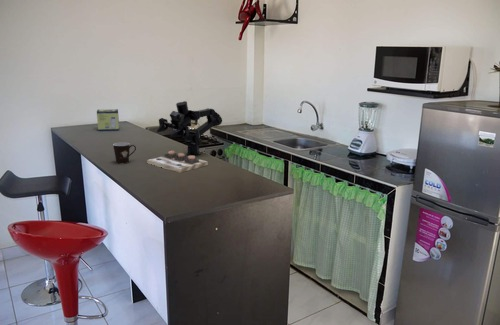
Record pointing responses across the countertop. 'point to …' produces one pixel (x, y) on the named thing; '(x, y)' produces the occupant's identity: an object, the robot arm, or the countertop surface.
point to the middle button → (181, 155)
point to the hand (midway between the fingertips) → (164, 133)
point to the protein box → (108, 120)
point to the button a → (171, 152)
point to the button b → (191, 157)
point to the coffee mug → (122, 152)
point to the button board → (177, 163)
